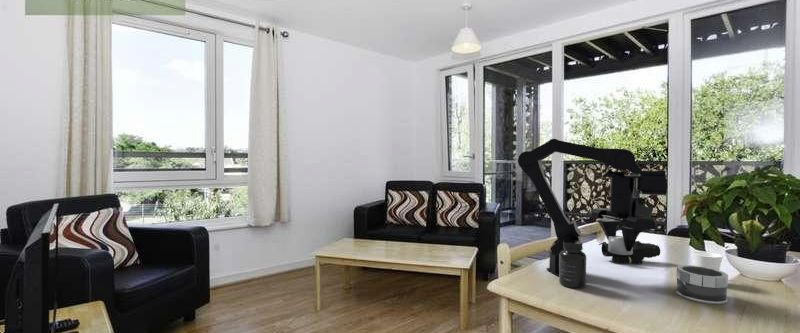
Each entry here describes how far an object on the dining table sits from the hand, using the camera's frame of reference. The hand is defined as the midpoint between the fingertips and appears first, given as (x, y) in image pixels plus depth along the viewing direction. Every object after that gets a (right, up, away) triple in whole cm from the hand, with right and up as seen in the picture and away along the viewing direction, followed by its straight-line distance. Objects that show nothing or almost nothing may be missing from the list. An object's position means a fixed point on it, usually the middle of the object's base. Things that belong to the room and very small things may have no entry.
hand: (620, 248), depth 108 cm
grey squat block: (0, -1, 0) cm, 1 cm away
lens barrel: (+15, -10, -10) cm, 20 cm away
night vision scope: (+15, -9, +20) cm, 27 cm away
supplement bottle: (-15, -10, -3) cm, 18 cm away
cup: (+26, -10, +1) cm, 28 cm away
